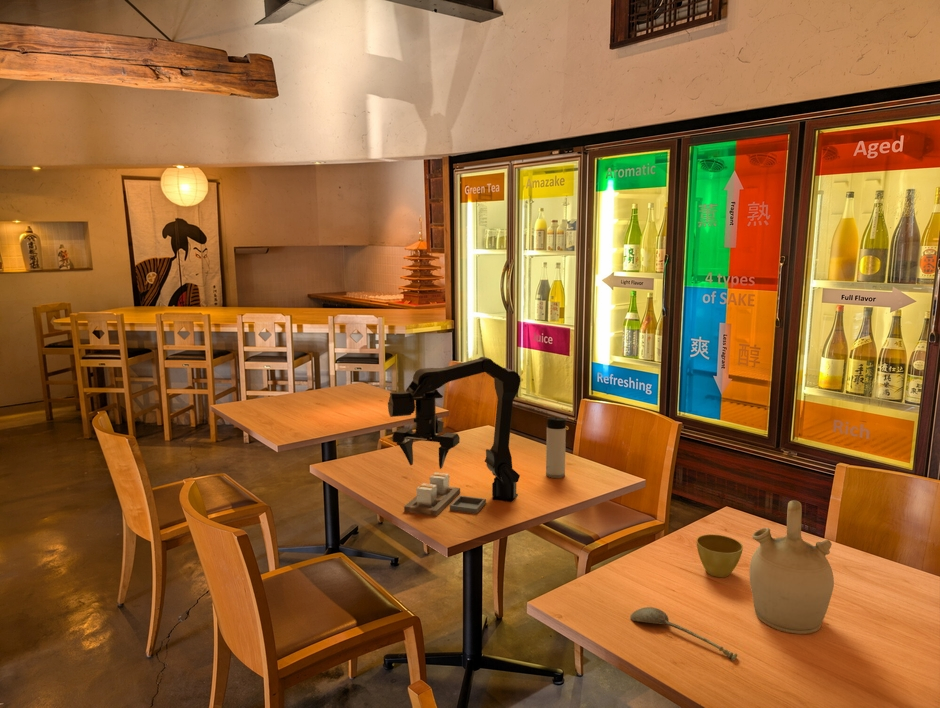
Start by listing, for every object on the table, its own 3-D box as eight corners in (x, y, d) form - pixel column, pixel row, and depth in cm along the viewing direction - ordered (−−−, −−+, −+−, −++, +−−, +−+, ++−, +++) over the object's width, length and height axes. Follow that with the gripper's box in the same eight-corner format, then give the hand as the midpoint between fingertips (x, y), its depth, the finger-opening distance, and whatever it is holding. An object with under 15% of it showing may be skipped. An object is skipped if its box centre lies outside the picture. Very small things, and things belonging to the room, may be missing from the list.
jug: (733, 618, 133) (741, 501, 129) (764, 590, 144) (772, 482, 140) (814, 650, 122) (825, 524, 119) (840, 618, 133) (851, 501, 129)
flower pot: (719, 559, 159) (721, 531, 158) (751, 578, 150) (753, 548, 148) (685, 566, 155) (687, 537, 154) (715, 586, 146) (717, 556, 145)
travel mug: (542, 476, 217) (543, 418, 214) (549, 471, 223) (550, 413, 220) (560, 479, 214) (561, 420, 211) (567, 473, 220) (568, 416, 217)
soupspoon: (642, 611, 138) (623, 624, 134) (641, 596, 138) (623, 609, 133) (743, 654, 122) (726, 671, 117) (743, 638, 121) (726, 654, 117)
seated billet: (449, 495, 200) (448, 473, 199) (443, 501, 196) (443, 478, 195) (435, 494, 202) (435, 471, 201) (430, 499, 198) (429, 476, 197)
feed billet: (436, 507, 191) (436, 484, 190) (430, 513, 187) (430, 489, 186) (422, 506, 193) (422, 482, 191) (416, 511, 188) (416, 487, 187)
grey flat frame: (460, 494, 202) (460, 488, 201) (436, 517, 184) (436, 510, 184) (430, 490, 205) (430, 484, 205) (404, 512, 187) (404, 506, 187)
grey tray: (485, 504, 193) (485, 498, 193) (476, 515, 186) (476, 509, 185) (459, 501, 196) (459, 495, 196) (449, 511, 188) (449, 505, 188)
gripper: (466, 409, 190) (466, 461, 192) (407, 405, 196) (408, 455, 198) (452, 419, 179) (452, 473, 182) (391, 413, 186) (392, 466, 188)
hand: (426, 466), depth 188 cm, fingers open, 9 cm apart
